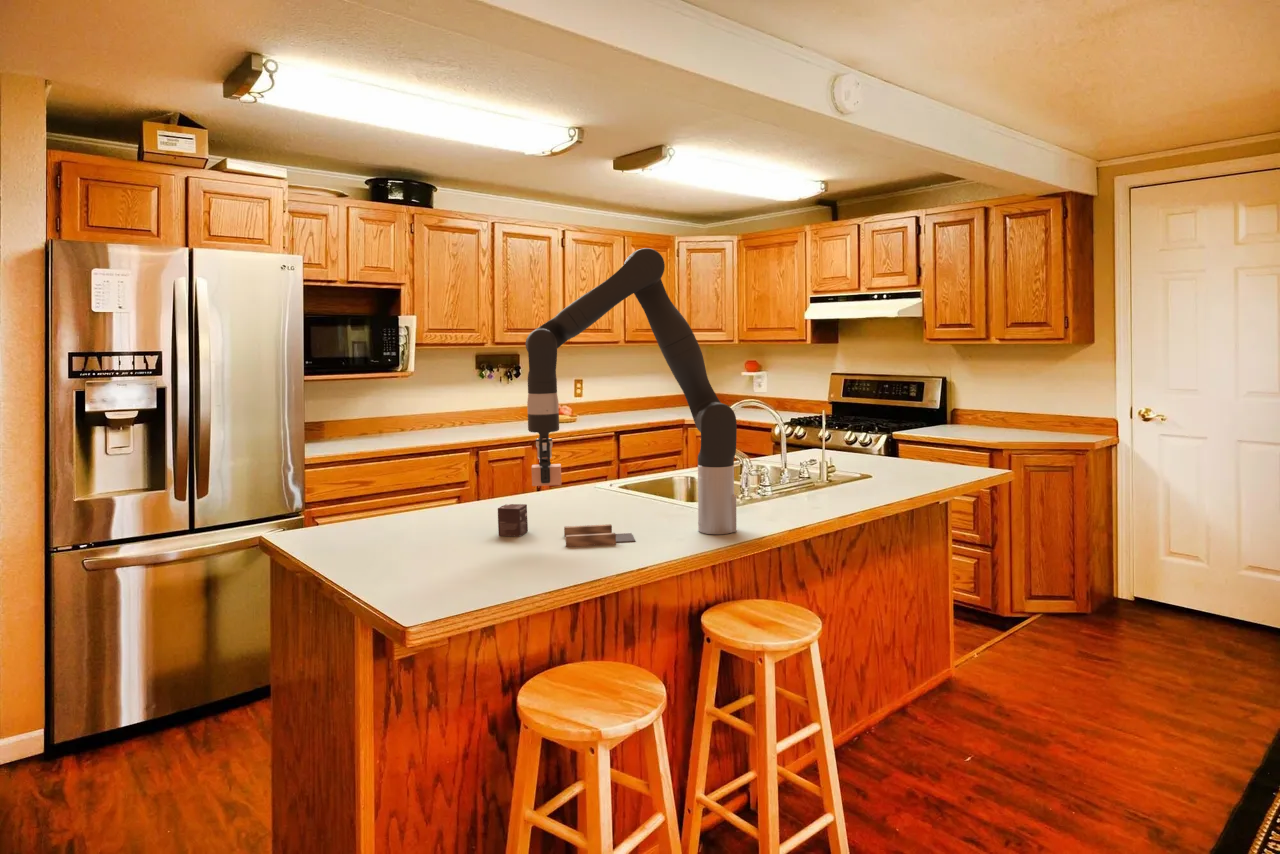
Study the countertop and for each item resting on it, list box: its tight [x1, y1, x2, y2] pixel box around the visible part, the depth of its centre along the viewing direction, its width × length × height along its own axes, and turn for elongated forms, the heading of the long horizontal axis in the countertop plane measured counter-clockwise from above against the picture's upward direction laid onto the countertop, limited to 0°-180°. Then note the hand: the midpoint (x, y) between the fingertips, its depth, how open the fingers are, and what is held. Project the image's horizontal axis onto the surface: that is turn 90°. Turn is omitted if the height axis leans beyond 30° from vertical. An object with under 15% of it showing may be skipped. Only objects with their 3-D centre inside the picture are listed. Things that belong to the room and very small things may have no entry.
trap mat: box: [615, 532, 636, 544], centre depth 189 cm, size 5×8×1 cm, turn 8°
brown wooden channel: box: [563, 523, 617, 548], centre depth 188 cm, size 12×11×2 cm
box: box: [497, 503, 529, 537], centre depth 196 cm, size 6×6×7 cm
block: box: [531, 463, 562, 487], centre depth 185 cm, size 7×5×4 cm
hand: (545, 480), depth 185 cm, fingers closed on block, 5 cm apart
